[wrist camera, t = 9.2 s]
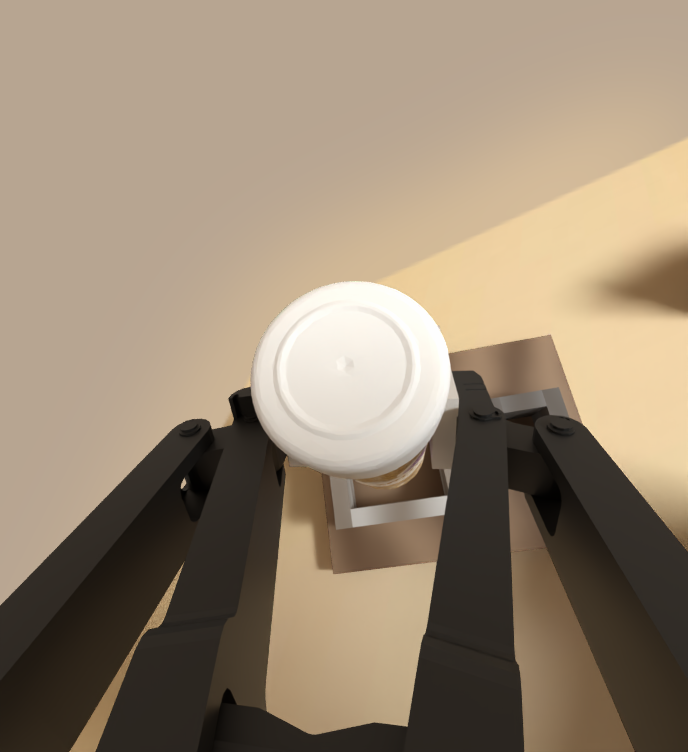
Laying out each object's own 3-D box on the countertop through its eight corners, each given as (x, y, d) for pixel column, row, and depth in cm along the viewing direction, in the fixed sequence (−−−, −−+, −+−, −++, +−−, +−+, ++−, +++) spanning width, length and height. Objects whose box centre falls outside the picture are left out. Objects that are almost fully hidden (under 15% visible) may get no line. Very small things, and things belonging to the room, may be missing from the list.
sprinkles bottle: (411, 502, 19) (416, 510, 7) (331, 472, 21) (209, 432, 8) (435, 420, 20) (478, 297, 8) (358, 396, 22) (289, 255, 9)
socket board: (544, 341, 33) (567, 315, 28) (611, 536, 27) (654, 544, 23) (315, 383, 35) (300, 366, 30) (336, 570, 30) (323, 584, 25)
